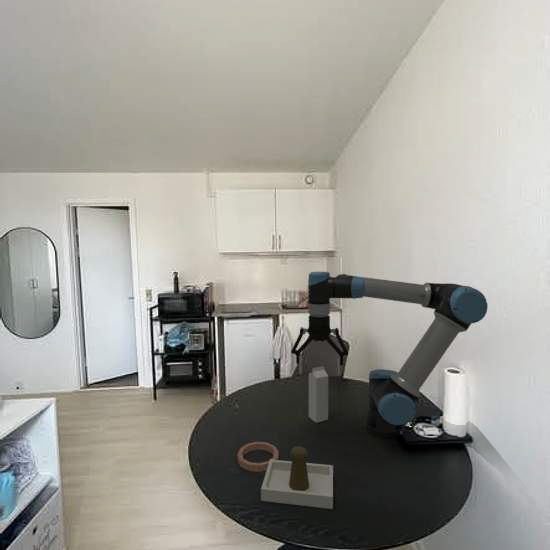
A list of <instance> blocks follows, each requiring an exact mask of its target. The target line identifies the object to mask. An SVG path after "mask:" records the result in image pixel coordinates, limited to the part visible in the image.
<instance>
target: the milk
mask: <svg viewBox="0 0 550 550" xmlns="http://www.w3.org/2000/svg"><path fill="white" fill-rule="evenodd" d="M308 418H310V419H311V420H312V421H313V422H314V423H315V424H316V423H320V422H321V423H322V422H324V421H325V422H326V421H328V420H329V375H328V373H327V372H326V370H325V366H324V365H323V366H317V367H313V368H312V370H311V372H309V373H308Z"/></svg>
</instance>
